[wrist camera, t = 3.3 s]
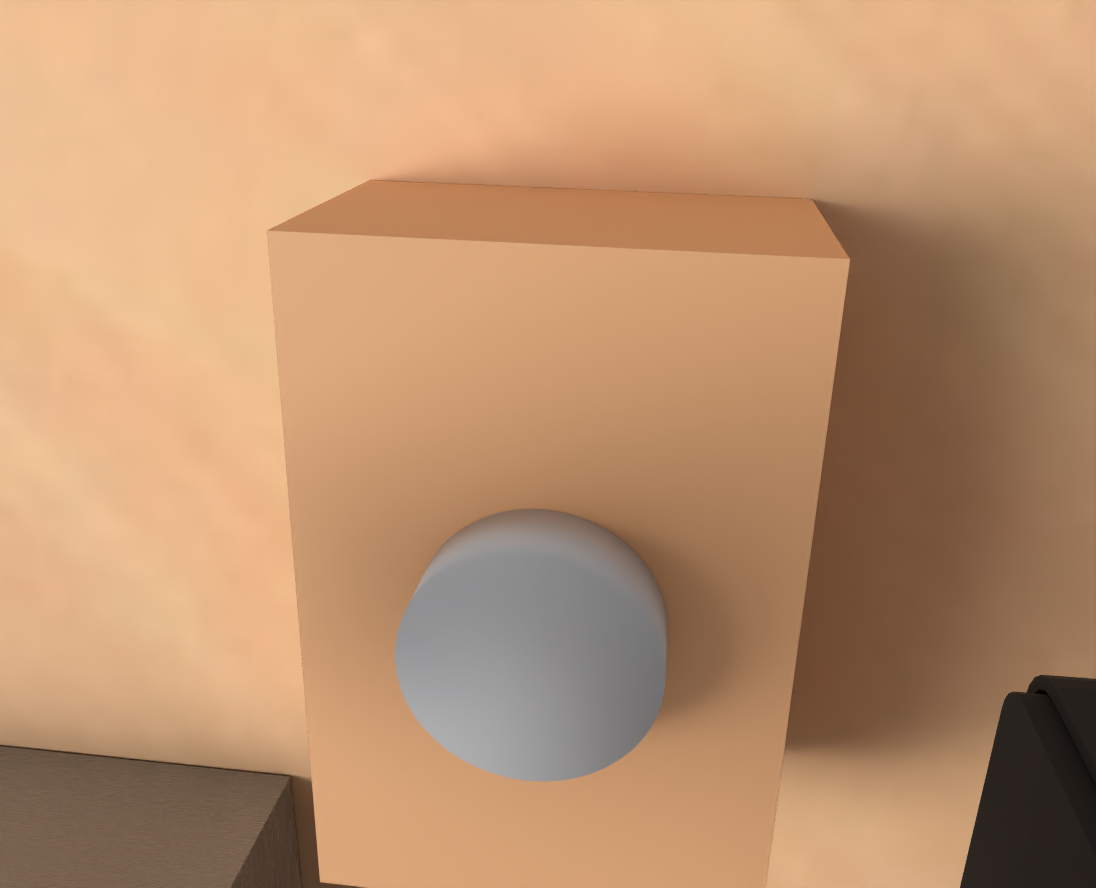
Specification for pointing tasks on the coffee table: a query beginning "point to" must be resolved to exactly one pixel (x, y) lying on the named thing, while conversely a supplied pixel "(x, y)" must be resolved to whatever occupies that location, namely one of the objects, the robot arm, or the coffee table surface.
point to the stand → (141, 824)
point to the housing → (551, 524)
